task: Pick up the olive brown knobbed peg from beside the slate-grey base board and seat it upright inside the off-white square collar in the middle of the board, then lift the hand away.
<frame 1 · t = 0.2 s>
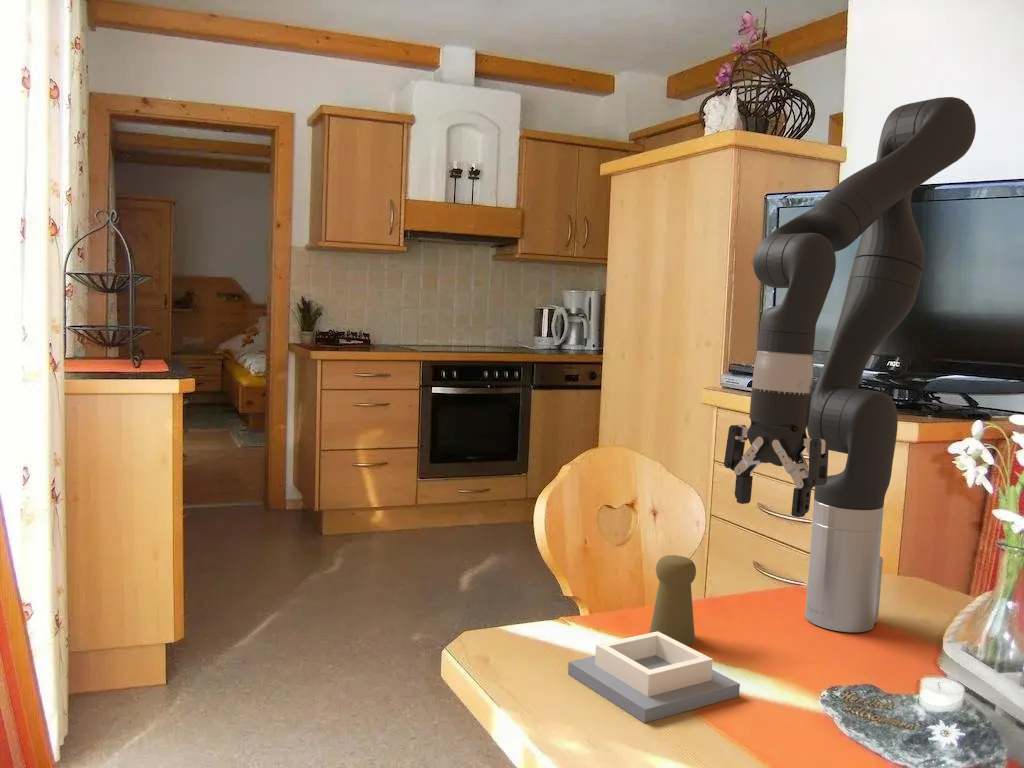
hand: (769, 509, 122), 18 cm above the table, tool pointing down, fingers open, 8 cm apart
olive brown knobbed peg: (671, 639, 123), on the table
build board: (651, 684, 108), on the table
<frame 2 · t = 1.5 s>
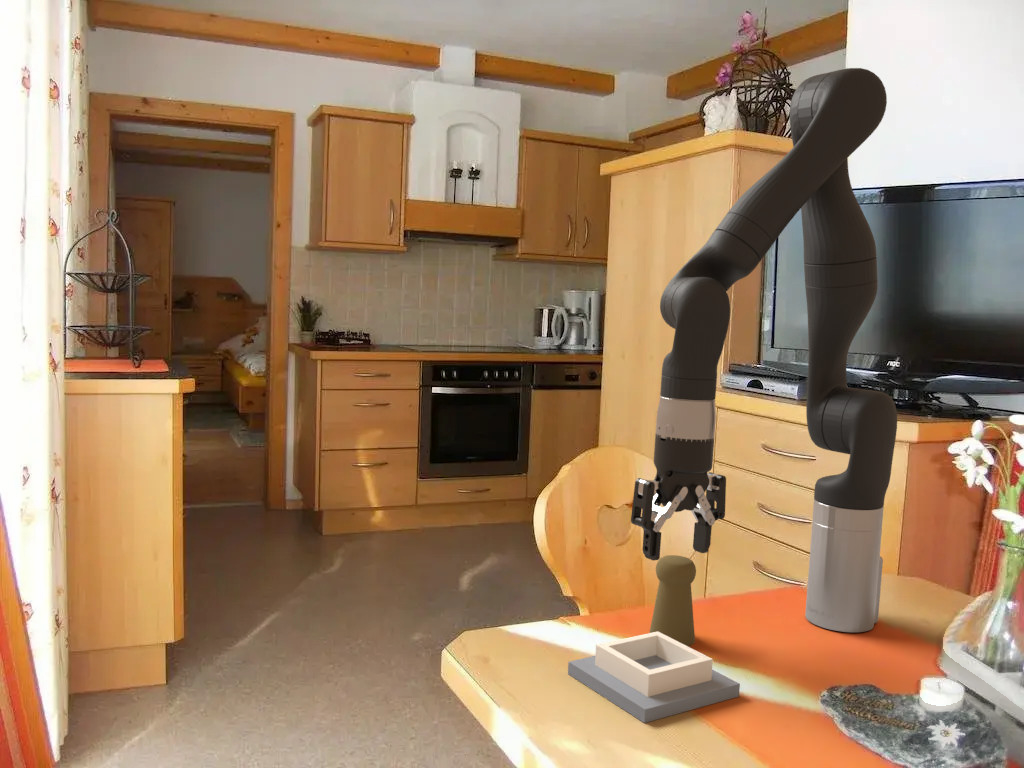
hand: (676, 555, 121), 11 cm above the table, tool pointing down, fingers open, 8 cm apart
nothing on the table moved.
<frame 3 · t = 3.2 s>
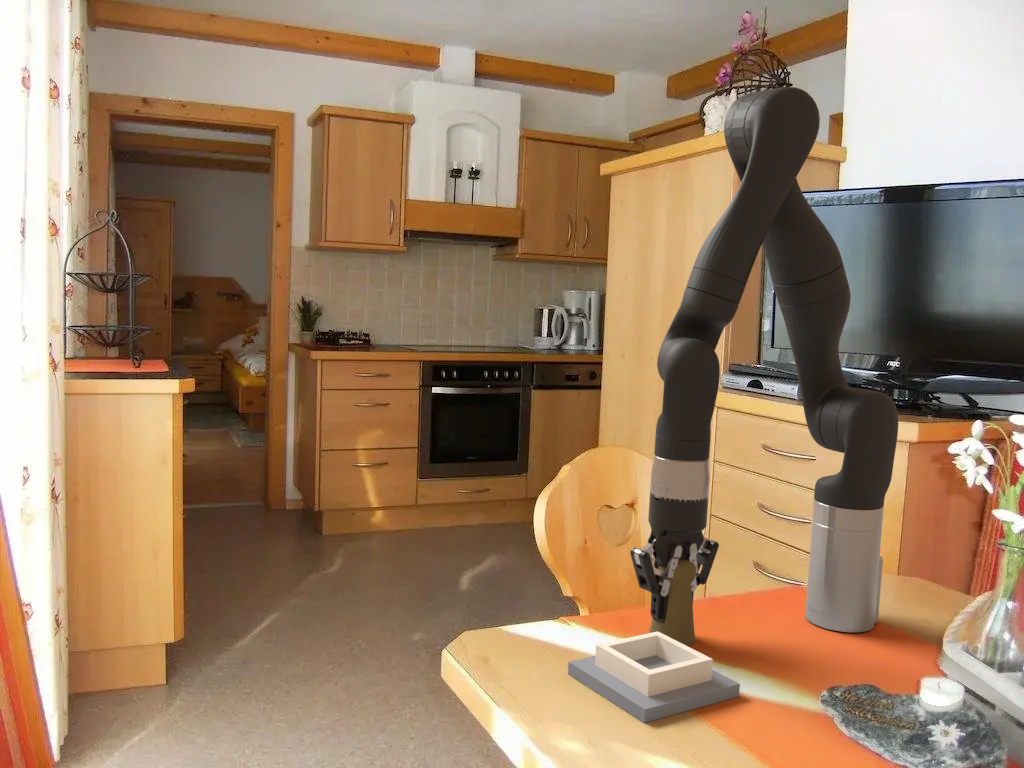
hand: (670, 618, 122), 3 cm above the table, tool pointing down, fingers closed on olive brown knobbed peg, 3 cm apart
olive brown knobbed peg: (671, 639, 123), on the table, touching gripper
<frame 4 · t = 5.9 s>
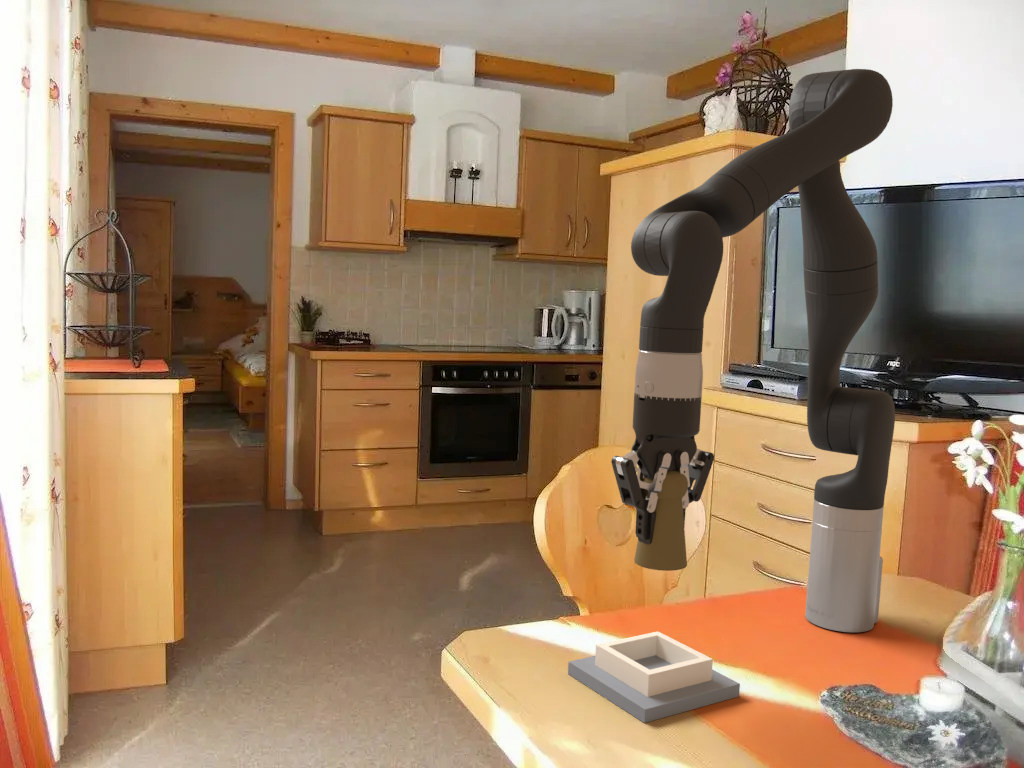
hand: (659, 539, 106), 17 cm above the table, tool pointing down, fingers closed on olive brown knobbed peg, 3 cm apart
olive brown knobbed peg: (660, 564, 107), point 14 cm above the table, touching gripper
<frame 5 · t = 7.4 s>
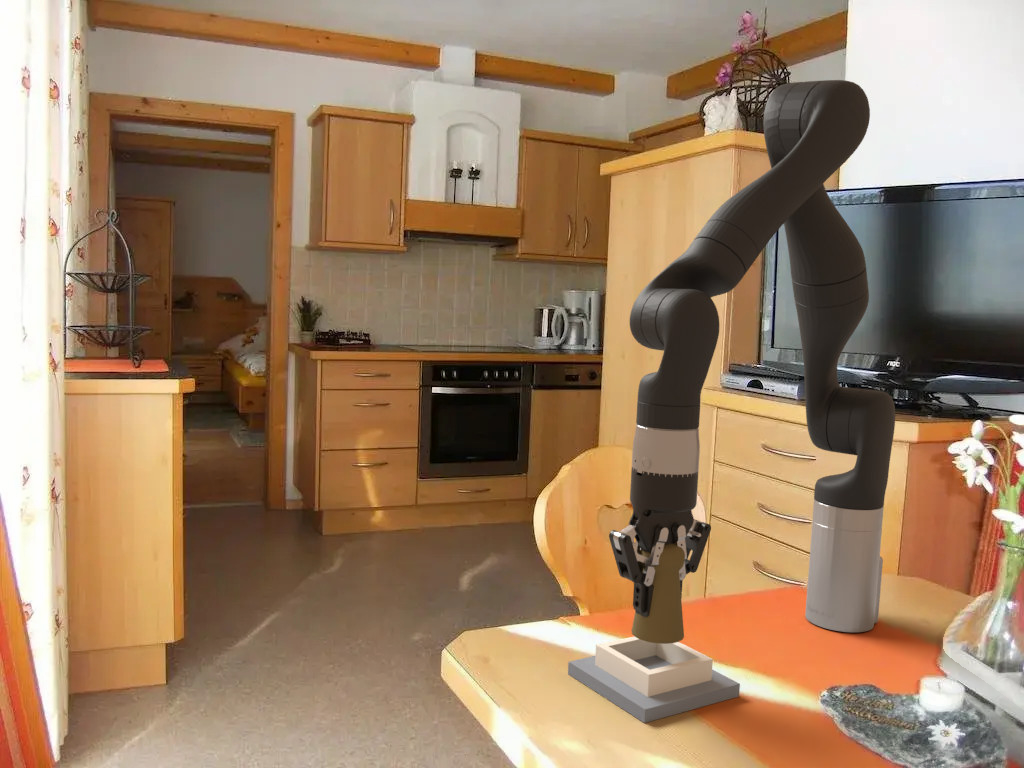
hand: (656, 611, 107), 9 cm above the table, tool pointing down, fingers closed on olive brown knobbed peg, 3 cm apart
olive brown knobbed peg: (657, 635, 107), point 6 cm above the table, touching gripper
when the fingers open (6 cm above the table, at t = 8.8 s): olive brown knobbed peg drops 1 cm, resting on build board.
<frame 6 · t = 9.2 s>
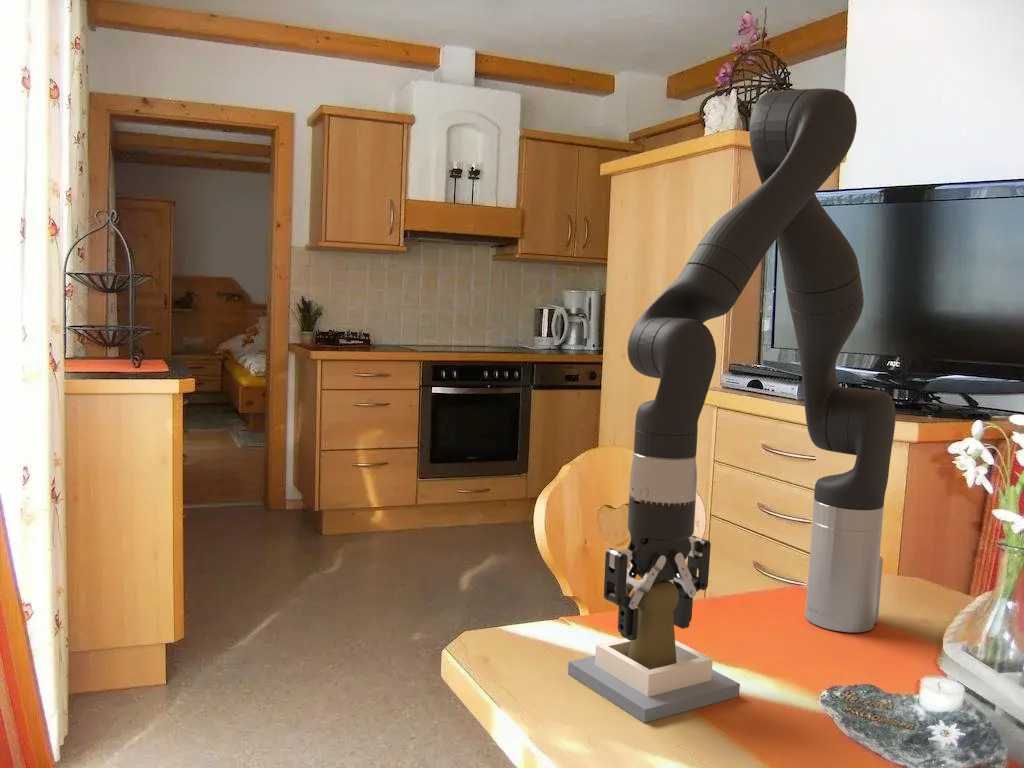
hand: (654, 631, 107), 6 cm above the table, tool pointing down, fingers open, 7 cm apart
olive brown knobbed peg: (651, 674, 108), point 1 cm above the table, touching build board
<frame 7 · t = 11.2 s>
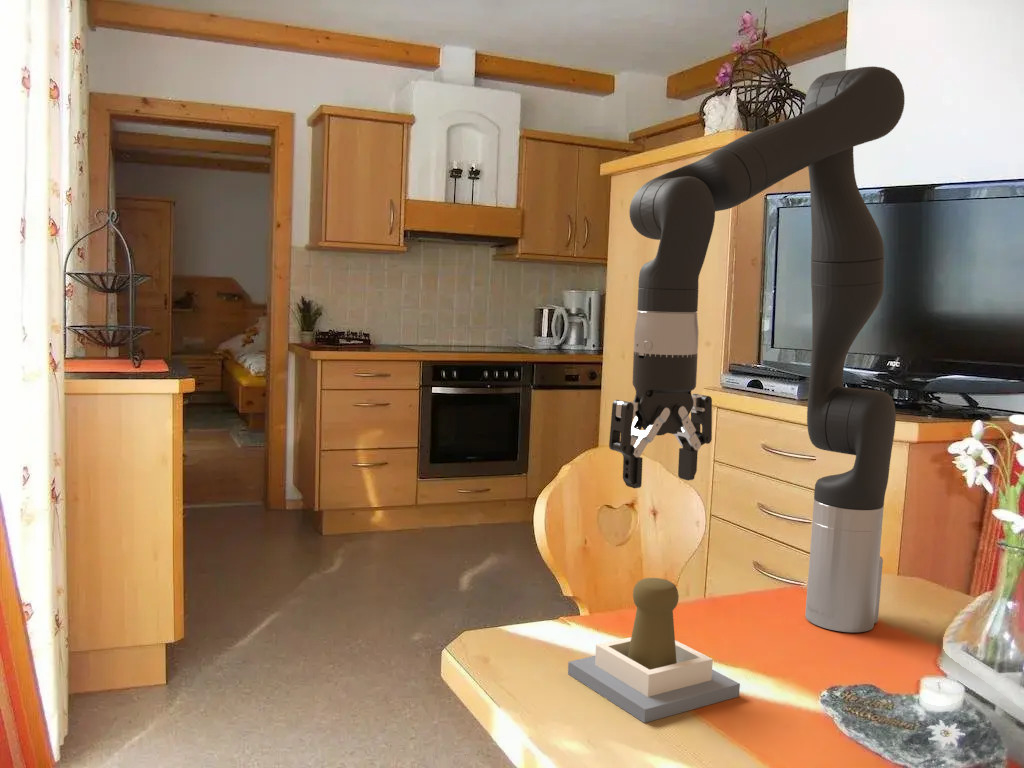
hand: (659, 483, 112), 23 cm above the table, tool pointing down, fingers open, 8 cm apart
nothing on the table moved.
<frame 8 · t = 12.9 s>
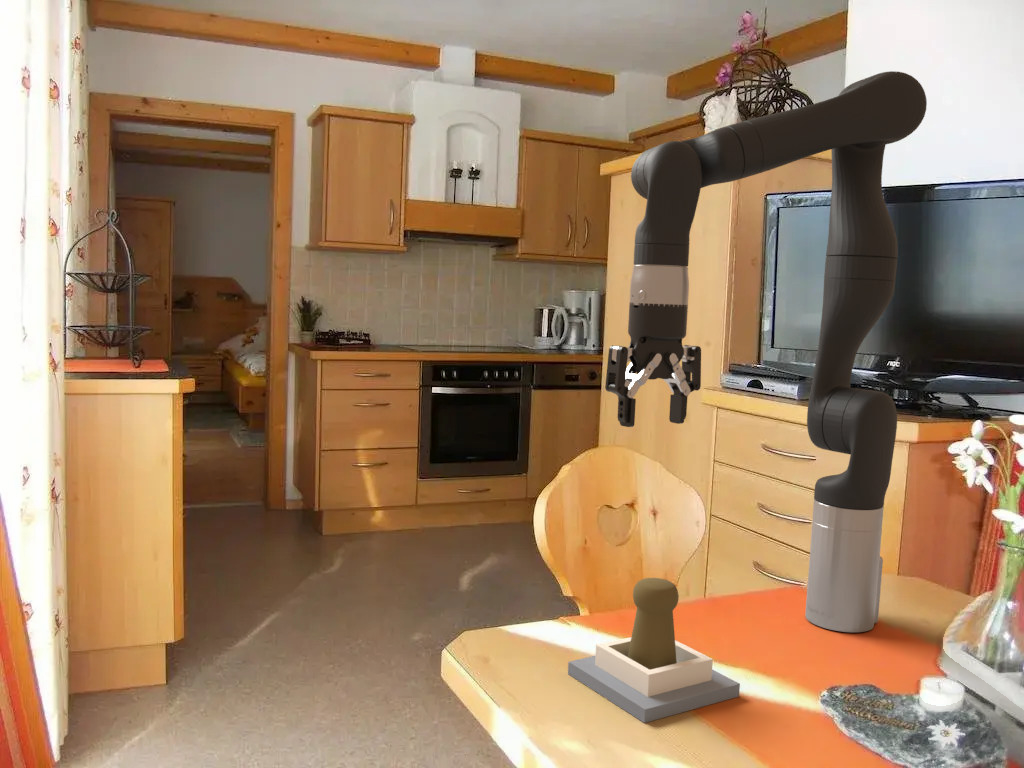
hand: (651, 424, 122), 28 cm above the table, tool pointing down, fingers open, 8 cm apart
nothing on the table moved.
at the end: olive brown knobbed peg 0.1 cm off-centre on the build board, point 1.3 cm above the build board's base; olive brown knobbed peg tilted 0°; the gripper is holding nothing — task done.
